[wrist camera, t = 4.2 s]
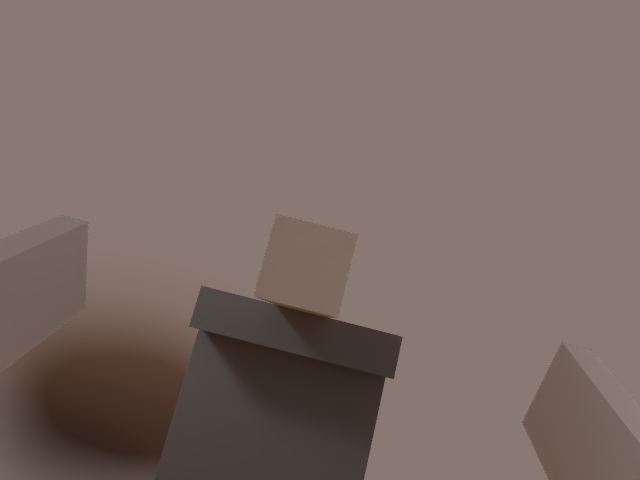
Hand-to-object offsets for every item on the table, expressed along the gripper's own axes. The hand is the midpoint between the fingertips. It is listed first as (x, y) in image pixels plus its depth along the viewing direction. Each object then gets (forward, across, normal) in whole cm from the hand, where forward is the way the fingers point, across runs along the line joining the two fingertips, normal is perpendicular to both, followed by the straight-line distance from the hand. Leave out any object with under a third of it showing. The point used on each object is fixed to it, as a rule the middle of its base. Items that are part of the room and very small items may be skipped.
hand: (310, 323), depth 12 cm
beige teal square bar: (+10, -1, -6) cm, 11 cm away
